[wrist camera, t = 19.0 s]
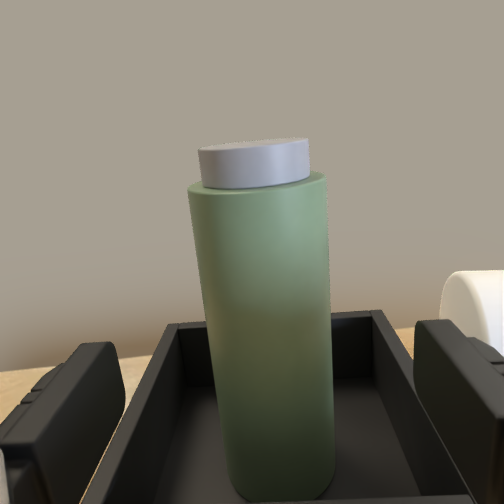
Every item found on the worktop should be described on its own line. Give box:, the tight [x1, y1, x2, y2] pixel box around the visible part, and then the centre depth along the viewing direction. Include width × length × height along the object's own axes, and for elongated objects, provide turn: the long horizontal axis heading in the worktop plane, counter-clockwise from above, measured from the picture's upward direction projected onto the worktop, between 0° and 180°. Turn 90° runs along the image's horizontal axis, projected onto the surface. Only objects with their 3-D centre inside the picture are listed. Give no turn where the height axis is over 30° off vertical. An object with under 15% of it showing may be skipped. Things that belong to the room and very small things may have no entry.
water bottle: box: [187, 138, 335, 503], centre depth 17 cm, size 5×5×15 cm
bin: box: [81, 310, 477, 504], centre depth 19 cm, size 14×14×5 cm
